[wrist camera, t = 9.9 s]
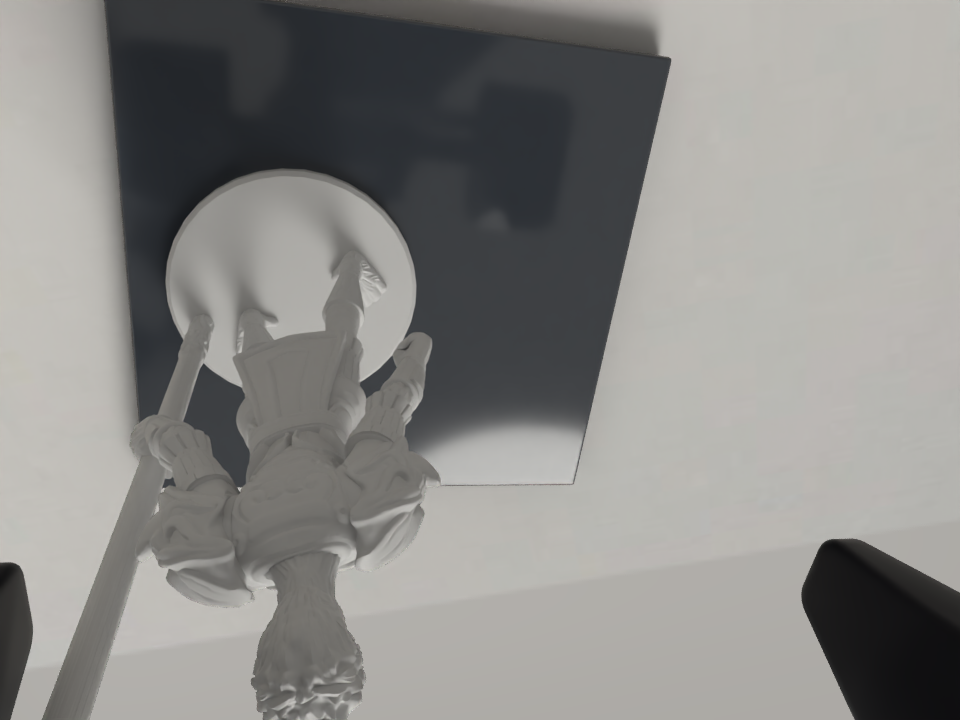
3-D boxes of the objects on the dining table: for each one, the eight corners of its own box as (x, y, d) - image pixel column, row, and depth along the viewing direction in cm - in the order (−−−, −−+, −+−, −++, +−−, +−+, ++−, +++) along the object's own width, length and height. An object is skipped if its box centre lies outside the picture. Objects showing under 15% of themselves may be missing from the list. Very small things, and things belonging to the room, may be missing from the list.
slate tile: (567, 472, 20) (574, 485, 20) (148, 474, 18) (143, 489, 17) (661, 55, 16) (673, 58, 15) (109, -25, 13) (100, -25, 13)
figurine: (217, 417, 17) (49, 1125, 6) (126, 199, 14) (-403, 769, 4) (435, 363, 17) (619, 935, 7) (386, 143, 15) (554, 508, 4)
